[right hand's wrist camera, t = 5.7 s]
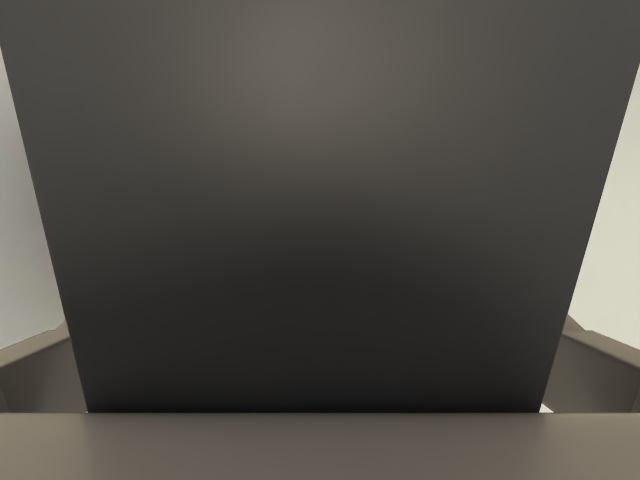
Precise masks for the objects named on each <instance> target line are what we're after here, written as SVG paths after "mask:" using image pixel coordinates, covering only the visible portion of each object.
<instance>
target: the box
mask: <svg viewBox="0 0 640 480" xmlns="http://www.w3.org/2000/svg"><path fill="white" fill-rule="evenodd" d="M0 47H1V51H2V55H3V59H4V64H5V68H6V72H7V76H8V80H9V85H10V89H11V93H12V97H13V101H14V105H15V110H16V114H17V118H18V122H19V126H20V131H21V135H22V139H23V143H24V147H25V152H26V156H27V160H28V164H29V168H30V172H31V177H32V181H33V185H34V189H35V193H36V198H37V202H38V206H39V210H40V214H41V219H42V223H43V227H44V231H45V235H46V239H47V244H48V248H49V252H50V256H51V260H52V265H53V269H54V273H55V277H56V281H57V286H58V290H59V294H60V298H61V302H62V306H63V311H64V315H65V319H66V323H67V327H68V332H69V336H70V340H71V344H72V348H73V353H74V357H75V361H76V365H77V369H78V374H79V378H80V382H81V386H82V390H83V394H84V399H85V403H86V407H87V411H88V413H539V411H540V407H541V404H542V400H543V397H544V393H545V390H546V386H547V383H548V379H549V376H550V373H551V369H552V366H553V362H554V359H555V355H556V352H557V348H558V345H559V341H560V338H561V334H562V331H563V327H564V324H565V320H566V317H567V314H568V310H569V307H570V303H571V300H572V296H573V293H574V289H575V286H576V282H577V279H578V275H579V272H580V268H581V265H582V261H583V258H584V255H585V251H586V248H587V244H588V241H589V237H590V234H591V230H592V227H593V223H594V220H595V216H596V213H597V209H598V206H599V202H600V199H601V196H602V192H603V189H604V185H605V182H606V178H607V175H608V171H609V168H610V164H611V161H612V157H613V154H614V150H615V147H616V143H617V140H618V137H619V133H620V130H621V126H622V123H623V119H624V116H625V112H626V109H627V105H628V102H629V98H630V95H631V91H632V88H633V84H634V81H635V77H636V74H637V71H638V67H639V64H640V0H0Z"/></svg>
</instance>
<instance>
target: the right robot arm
mask: <svg viewBox="0 0 640 480" xmlns="http://www.w3.org/2000/svg"><path fill="white" fill-rule="evenodd" d="M542 403H543V404H544V405H545V406H547V407H548V408H549V409H551V410H552V411H553V412H555V413H86V412H87V407H86V403H85V399H84V394H83V390H82V386H81V382H80V378H79V374H78V369H77V365H76V361H75V357H74V353H73V348H72V344H71V340H70V336H69V332H68V327H67V323H66V320H65V321H64V322H63V323H62V324H61V325H60V326H59V327H58V328H57V329H56V330H55V331H46V332H43V333H41V334H38V335H36V336H33V337H31V338H28V339H26V340H23V341H21V342H19V343H16V344H14V345H11V346H9V347H6V348H4V349H1V350H0V480H640V350H639V349H636V348H634V347H631V346H629V345H626V344H624V343H621V342H619V341H616V340H614V339H612V338H609V337H607V336H604V335H602V334H599V333H597V332H594V331H585V330H584V329H583V328H582V327H581V326H580V325H579V324H578V323H577V322H576V321H575V320H574V319H572V318H571V317H570V316H569V315H568V314H567V317H566V320H565V324H564V327H563V331H562V334H561V338H560V341H559V345H558V348H557V352H556V355H555V359H554V362H553V366H552V369H551V373H550V376H549V379H548V383H547V386H546V390H545V393H544V397H543V400H542Z"/></svg>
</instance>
